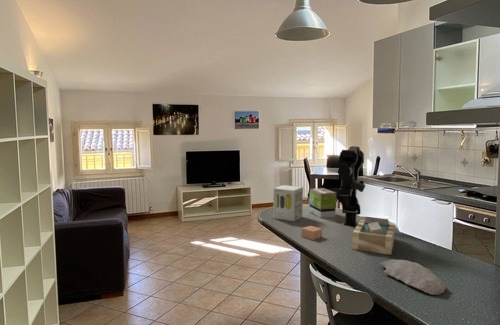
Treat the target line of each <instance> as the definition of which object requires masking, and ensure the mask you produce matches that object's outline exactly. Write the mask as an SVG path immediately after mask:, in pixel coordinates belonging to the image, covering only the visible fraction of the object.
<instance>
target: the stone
mask: <svg viewBox="0 0 500 325" xmlns="http://www.w3.org/2000/svg"><path fill="white" fill-rule="evenodd" d="M379 266H381V267H383V268H385V269H384V271H383V273H384V274H386V275H388V276H390V277H391V278H395V279H396V280H399V281H401V282H403V283H404V284H406V285H408V286H411V287H413V288H415V289H418V290H420V291H423V292H424V293H427V294H429V295H433V296H435V295H436V296H439V295H441V294H443V293H444V292H445V290H446V284H445V283H444V282H443V280H442V279H440V278H439V277H437V276H436V275H435V274H434V272H433V271H432V269H430V268H427V267H424V266H423V265H421V264H420V263H417V262H413V261H410V260H407V259H390V260H384V261H382V262H380V263H379ZM427 281H428V282H427Z"/></svg>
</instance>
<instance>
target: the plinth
mask: <svg viewBox="0 0 500 325" xmlns="http://www.w3.org/2000/svg"><path fill="white" fill-rule="evenodd" d="M300 229H301V230H300V232H301V233H300V234H301V235H300V236H301V237H302V238H305V239H308V240H312V241H314V240H318V239H321V238H322V237H323V228H321V227H317V226H313V225H309V226H304V227H301V228H300ZM320 237H321V238H320ZM317 238H318V239H317Z"/></svg>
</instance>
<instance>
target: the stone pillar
mask: <svg viewBox="0 0 500 325" xmlns="http://www.w3.org/2000/svg"><path fill="white" fill-rule="evenodd" d="M368 233H373V234H380V235H381V227H380V225H379V223H378V222H374V223H368Z"/></svg>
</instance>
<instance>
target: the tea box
mask: <svg viewBox="0 0 500 325" xmlns="http://www.w3.org/2000/svg"><path fill="white" fill-rule="evenodd" d="M336 204H337V192H335V191H332V190H330V189H326V188H324V187H320V188H309V206H308V208H309V209H308V212H309V213H311V214H314V215H315V216H317V217H319V218H320V219H325V218H335V217H336V208H337V207H336Z"/></svg>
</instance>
